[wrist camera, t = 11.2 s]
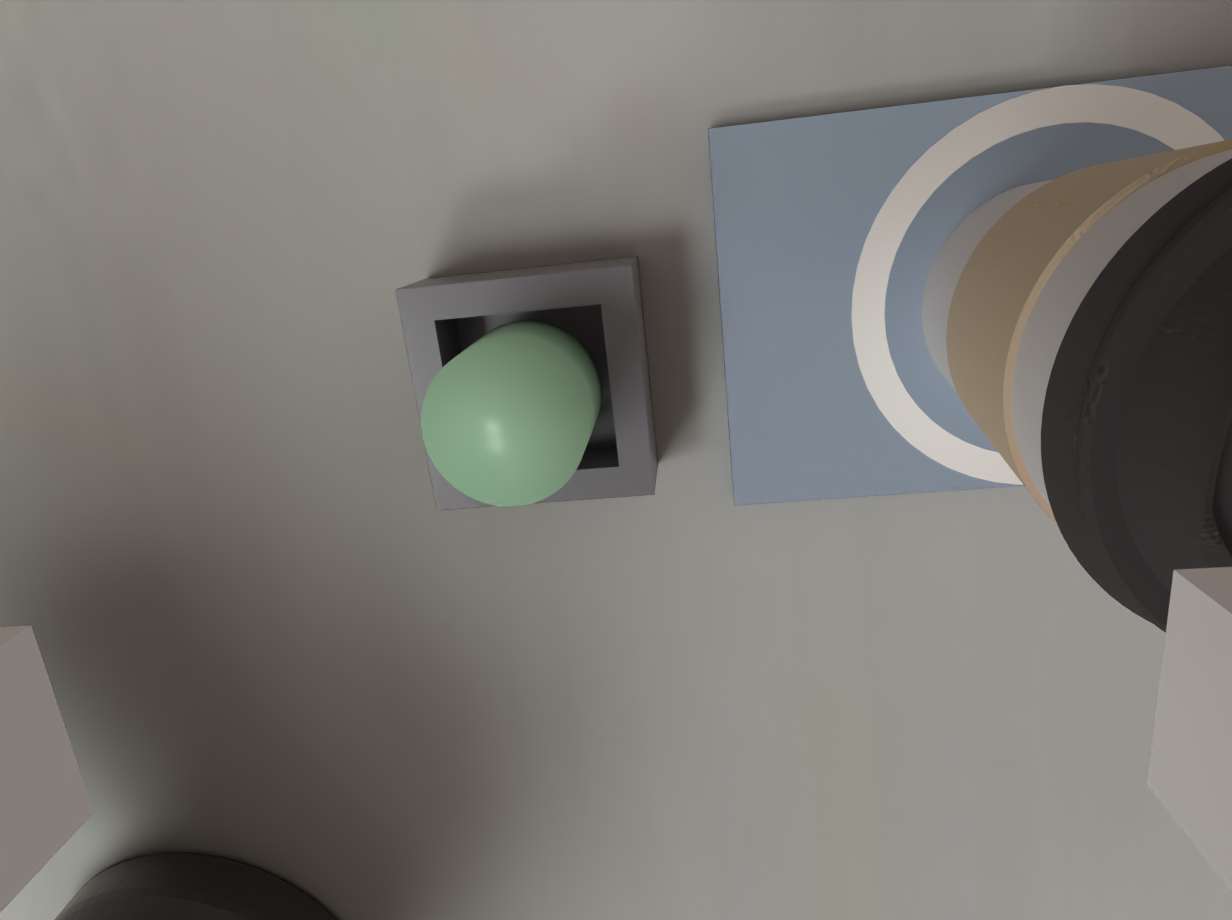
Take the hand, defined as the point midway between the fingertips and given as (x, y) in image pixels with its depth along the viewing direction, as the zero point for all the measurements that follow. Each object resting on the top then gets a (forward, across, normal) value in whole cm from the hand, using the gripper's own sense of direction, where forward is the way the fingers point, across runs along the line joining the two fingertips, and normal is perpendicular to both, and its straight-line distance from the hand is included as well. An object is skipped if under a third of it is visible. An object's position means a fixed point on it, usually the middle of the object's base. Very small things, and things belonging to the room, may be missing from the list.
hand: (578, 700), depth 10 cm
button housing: (+19, -3, 0) cm, 19 cm away
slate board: (+19, +13, +1) cm, 23 cm away
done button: (+16, -3, 0) cm, 17 cm away
